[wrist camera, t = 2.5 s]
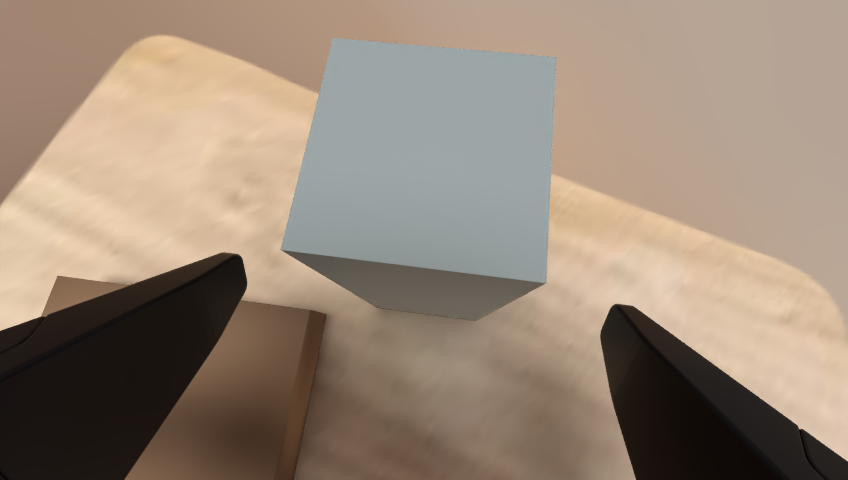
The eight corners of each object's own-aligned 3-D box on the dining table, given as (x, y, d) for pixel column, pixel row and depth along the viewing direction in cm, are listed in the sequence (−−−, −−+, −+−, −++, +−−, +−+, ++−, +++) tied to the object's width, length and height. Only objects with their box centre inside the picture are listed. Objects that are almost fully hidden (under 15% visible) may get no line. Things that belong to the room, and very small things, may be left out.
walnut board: (268, 602, 15) (236, 651, 13) (6, 552, 16) (-70, 590, 14) (326, 314, 18) (309, 309, 16) (105, 283, 19) (57, 275, 17)
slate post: (475, 321, 18) (546, 282, 7) (377, 307, 19) (280, 249, 7) (484, 226, 20) (555, 56, 8) (392, 215, 20) (332, 37, 8)
